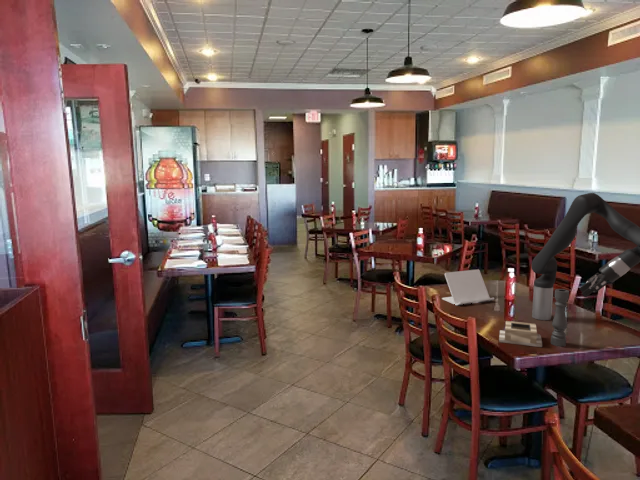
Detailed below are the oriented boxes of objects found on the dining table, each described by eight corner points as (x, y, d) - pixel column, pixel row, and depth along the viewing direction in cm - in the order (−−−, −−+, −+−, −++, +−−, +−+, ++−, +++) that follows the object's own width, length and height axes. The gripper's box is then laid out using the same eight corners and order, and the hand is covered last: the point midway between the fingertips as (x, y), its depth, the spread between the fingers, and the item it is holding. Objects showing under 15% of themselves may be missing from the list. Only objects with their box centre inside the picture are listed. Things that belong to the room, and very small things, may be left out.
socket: (499, 332, 232) (500, 320, 231) (540, 337, 225) (541, 324, 224) (498, 342, 219) (499, 329, 218) (542, 347, 213) (542, 333, 212)
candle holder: (561, 341, 219) (565, 288, 215) (568, 346, 213) (572, 292, 209) (548, 341, 219) (551, 288, 215) (555, 346, 213) (558, 292, 209)
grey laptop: (441, 299, 290) (442, 271, 287) (475, 294, 299) (476, 268, 296) (459, 307, 273) (461, 278, 271) (495, 302, 282) (496, 274, 279)
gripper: (604, 259, 211) (573, 282, 217) (611, 266, 198) (577, 290, 204) (617, 272, 209) (586, 295, 216) (624, 279, 196) (590, 303, 202)
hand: (582, 292), depth 210 cm, fingers open, 8 cm apart
